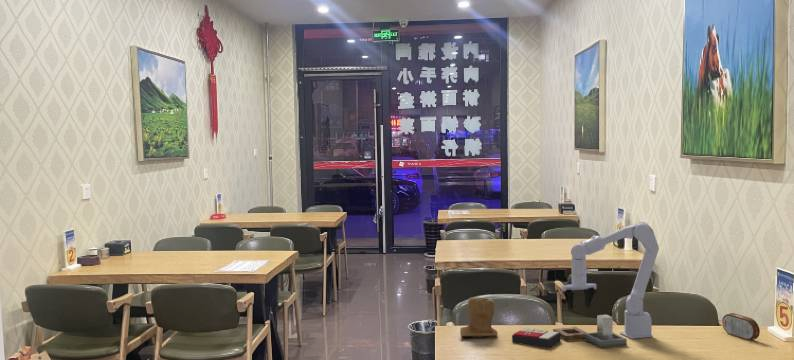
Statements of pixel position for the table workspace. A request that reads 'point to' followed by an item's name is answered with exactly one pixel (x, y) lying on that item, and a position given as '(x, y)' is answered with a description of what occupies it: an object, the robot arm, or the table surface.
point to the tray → (614, 342)
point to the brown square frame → (570, 333)
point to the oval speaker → (741, 326)
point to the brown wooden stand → (479, 318)
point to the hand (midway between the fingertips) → (579, 307)
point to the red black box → (536, 337)
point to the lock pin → (604, 327)
